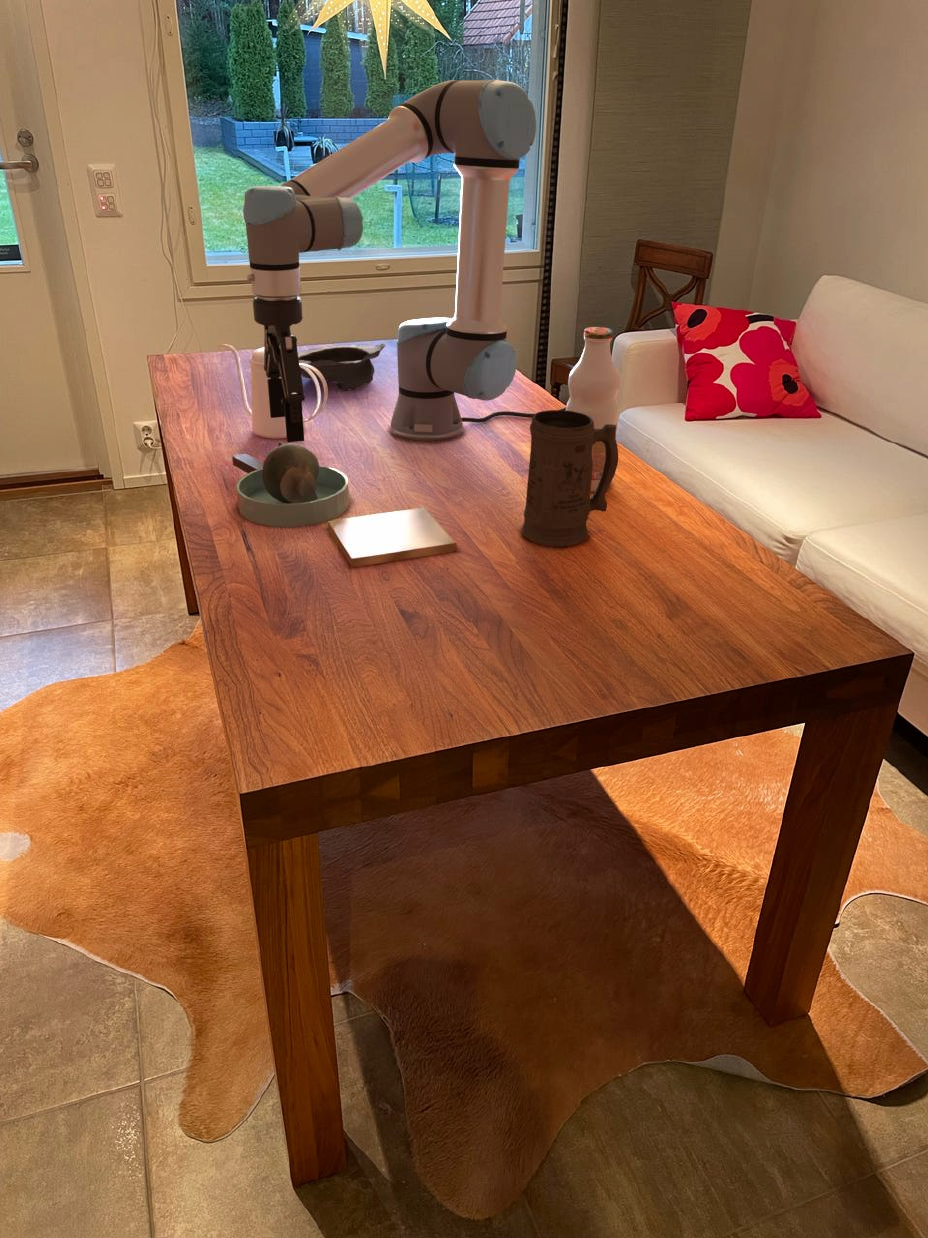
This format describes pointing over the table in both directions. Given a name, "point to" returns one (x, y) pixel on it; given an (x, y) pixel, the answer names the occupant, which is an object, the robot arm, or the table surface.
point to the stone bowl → (342, 364)
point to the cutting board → (390, 536)
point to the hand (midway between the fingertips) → (286, 428)
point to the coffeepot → (260, 395)
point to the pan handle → (246, 463)
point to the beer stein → (565, 476)
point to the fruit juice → (595, 390)
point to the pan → (275, 513)
